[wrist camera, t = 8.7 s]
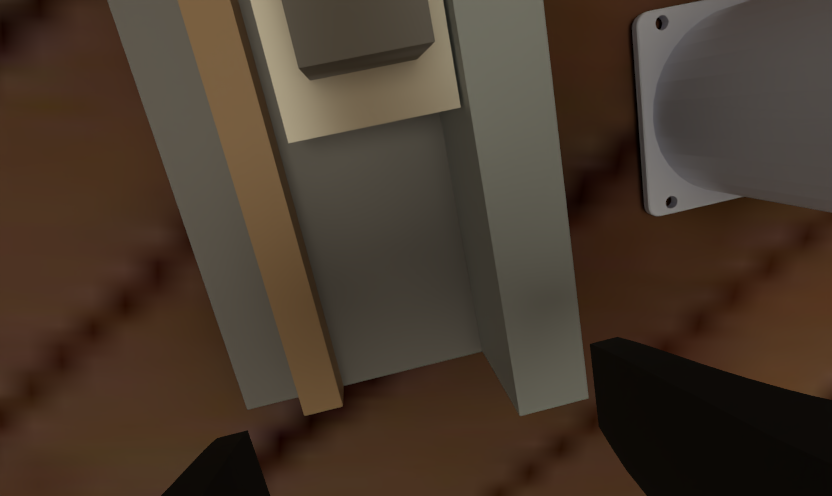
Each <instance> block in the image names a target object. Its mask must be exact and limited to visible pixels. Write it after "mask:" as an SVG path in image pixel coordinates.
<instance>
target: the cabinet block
mask: <svg viewBox="0 0 832 496" xmlns="http://www.w3.org/2000/svg"><path fill="white" fill-rule="evenodd" d="M250 1H251V5H252V9H253V13H254V16H255V20H256V24H257V28H258V31H259V35H260V39H261V43H262V46H263V50H264V54H265V57H266V61H267V65H268V69H269V72H270V76H271V80H272V84H273V87H274V91H275V95H276V99H277V102H278V106H279V110H280V114H281V117H282V121H283V125H284V129H285V132H286V136H287V140H288V143H292V142H297V141H302V140H307V139H312V138H316V137H321V136H326V135H331V134H336V133H341V132H345V131H350V130H355V129H360V128H365V127H369V126H374V125H379V124H384V123H389V122H393V121H398V120H403V119H408V118H413V117H417V116H422V115H427V114H432V113H437V112H441V111H446V110H451V109H456V108H461V105H460V99H459V93H458V87H457V81H456V75H455V69H454V63H453V57H452V51H451V45H450V39H449V33H448V27H447V21H446V15H445V9H444V3H443V0H250Z"/></svg>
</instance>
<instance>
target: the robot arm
mask: <svg viewBox="0 0 832 496" xmlns="http://www.w3.org/2000/svg"><path fill="white" fill-rule="evenodd" d="M657 18H659V19H661V21H662V27H661V29H660V30H659V29H657V28H656V24H655V23H656V19H657ZM632 37H633V51H634V66H635V80H636V95H637V109H638V124H639V138H640V153H641V167H642V182H643V196H644V207H645V210H646V212H647V213H648V214H651V215H654V216H663V215H667V214H671V213H676V212H680V211H684V210H689V209H693V208H697V207H701V206H706V205H710V204H714V203H718V202H723V201H727V200H731V199H736V198H740V197H750V198H755V199H761V200H766V201H771V202H777V203H782V204H788V205H793V206H799V207H804V208H810V209H815V210H820V211H826V212H831V213H832V0H702V1H697V2H692V3H687V4H682V5H677V6H671V7H666V8H661V9H656V10H651V11H647V12H645V13H642V14H640V15H638V16H637V17H636V18H635V20H634V22H633V24H632ZM668 197H671V203H670V204H669V205H668V206H667V207H666V200H667V198H668ZM590 350H591V359H592V368H593V377H594V386H595V395H596V404H597V413H598V423H599V427H600V429H601V431H602V432H603V434H604V436H605V437H606V439H607V441H608V442H609V444H610V445H611V447H612V449H613V450H614V452H615V453H616V455H617V456H618V458H619V460H620V461H621V463H622V464H623V466H624V467H625V469H626V470H627V471H628V473H629V474H630V475H631V476H632V478H633V479H634V480H635V481H636V483H637V484H638V485H639V486H640V488H641V489H642V490H643V491H644V493H645V494H646V495H647V496H832V400H829V399H824V398H820V397H815V396H811V395H807V394H803V393H799V392H795V391H791V390H787V389H784V388H780V387H777V386H773V385H770V384H766V383H762V382H759V381H755V380H752V379H748V378H745V377H742V376H738V375H735V374H732V373H729V372H725V371H722V370H719V369H716V368H713V367H710V366H707V365H704V364H701V363H698V362H695V361H692V360H689V359H686V358H683V357H680V356H677V355H674V354H671V353H668V352H665V351H662V350H659V349H656V348H653V347H650V346H647V345H644V344H641V343H637V342H634V341H631V340H627V339H623V338H619V337H616V338H612V339H608V340H604V341H600V342H596V343H592V344H590ZM161 496H270V494H269V491H268V488H267V485H266V482H265V479H264V476H263V474H262V471H261V468H260V465H259V462H258V459H257V456H256V453H255V450H254V448H253V445H252V442H251V439H250V436H249V433H248V431H244V432H240V433H236V434H232V435H228V436H224V437H220V438H217V439H216V440H215V441H213V442H212V443H211V444H210V445H209V446H208V447H207V448H206V449H205V450H204V451H203V452H202V453H201V454H200V455H199V456H198V457H197V458H196V459H195V460H194V461H193V462H192V464H191V465H190V466H189V467H188V468H187V469H186V470H185V471H184V472H183V473H182V474H181V475H180V476H179V477H178V478H177V480H176V481H175V482H174V483H173V484H172V485H171V486H170V487H169V488H168V489H167V490H166V491H165V492H164V493H163V494H162V495H161Z"/></svg>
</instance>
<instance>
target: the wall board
mask: <svg viewBox="0 0 832 496" xmlns="http://www.w3.org/2000/svg"><path fill="white" fill-rule="evenodd" d="M107 1H108V3H109V6H110V9H111V12H112V15H113V18H114V21H115V24H116V27H117V30H118V33H119V36H120V39H121V41H122V44H123V47H124V50H125V53H126V56H127V59H128V62H129V65H130V68H131V71H132V74H133V77H134V80H135V82H136V85H137V88H138V91H139V94H140V97H141V100H142V103H143V106H144V109H145V112H146V115H147V118H148V120H149V123H150V126H151V129H152V132H153V135H154V138H155V141H156V144H157V147H158V150H159V153H160V156H161V158H162V161H163V164H164V167H165V170H166V173H167V176H168V179H169V182H170V185H171V188H172V191H173V194H174V197H175V199H176V202H177V205H178V208H179V211H180V214H181V217H182V220H183V223H184V226H185V229H186V232H187V235H188V237H189V240H190V243H191V246H192V249H193V252H194V255H195V258H196V261H197V264H198V267H199V270H200V273H201V275H202V278H203V281H204V284H205V287H206V290H207V293H208V296H209V299H210V302H211V305H212V308H213V311H214V314H215V316H216V319H217V322H218V325H219V328H220V331H221V334H222V337H223V340H224V343H225V346H226V349H227V352H228V354H229V357H230V360H231V363H232V366H233V369H234V372H235V375H236V378H237V381H238V384H239V387H240V390H241V392H242V395H243V398H244V401H245V404H246V407H247V410H248V409H252V408H256V407H260V406H264V405H269V404H273V403H277V402H281V401H285V400H289V399H293V398H297V397H299V400H300V403H301V406H302V410H303V413H304V416H306V415H310V414H314V413H318V412H322V411H326V410H330V409H334V408H338V407H342V406H343V386H345V385H349V384H353V383H357V382H361V381H365V380H369V379H373V378H377V377H381V376H385V375H389V374H393V373H397V372H401V371H405V370H409V369H413V368H417V367H421V366H425V365H429V364H433V363H437V362H441V361H445V360H449V359H454V358H458V357H462V356H466V355H470V354H474V353H478V352H482V351H483V353H484V355H485V357H486V358H487V360H488V362H489V364H490V365H491V367H492V369H493V370H494V372H495V374H496V376H497V377H498V379H499V381H500V383H501V384H502V386H503V388H504V389H505V391H506V393H507V395H508V396H509V398H510V400H511V402H512V403H513V405H514V407H515V408H516V410H517V412H518V414H519V415H520V416H522V415H526V414H530V413H534V412H538V411H542V410H545V409H549V408H553V407H557V406H561V405H565V404H568V403H572V402H576V401H580V400H584V399H588V398H589V397H588V389H587V380H586V371H585V362H584V354H583V345H582V336H581V327H580V319H579V310H578V301H577V292H576V284H575V275H574V266H573V257H572V249H571V240H570V231H569V222H568V214H567V205H566V196H565V188H564V179H563V170H562V161H561V153H560V144H559V135H558V126H557V118H556V109H555V100H554V91H553V83H552V74H551V65H550V56H549V48H548V39H547V30H546V21H545V13H544V4H543V0H443V3H444V9H445V15H446V21H447V27H448V33H449V39H450V45H451V51H452V57H453V63H454V69H455V75H456V81H457V87H458V93H459V99H460V105H461V108H456V109H451V110H446V111H441V112H437V113H432V114H427V115H422V116H417V117H413V118H408V119H403V120H398V121H393V122H389V123H384V124H379V125H374V126H369V127H365V128H360V129H355V130H350V131H345V132H341V133H336V134H331V135H326V136H321V137H316V138H312V139H307V140H302V141H297V142H292V143H288V140H287V136H286V132H285V129H284V125H283V121H282V117H281V114H280V110H279V106H278V102H277V99H276V95H275V91H274V87H273V84H272V80H271V76H270V72H269V69H268V65H267V61H266V57H265V54H264V50H263V46H262V43H261V39H260V35H259V31H258V28H257V24H256V20H255V16H254V13H253V9H252V5H251V1H250V0H107Z"/></svg>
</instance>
